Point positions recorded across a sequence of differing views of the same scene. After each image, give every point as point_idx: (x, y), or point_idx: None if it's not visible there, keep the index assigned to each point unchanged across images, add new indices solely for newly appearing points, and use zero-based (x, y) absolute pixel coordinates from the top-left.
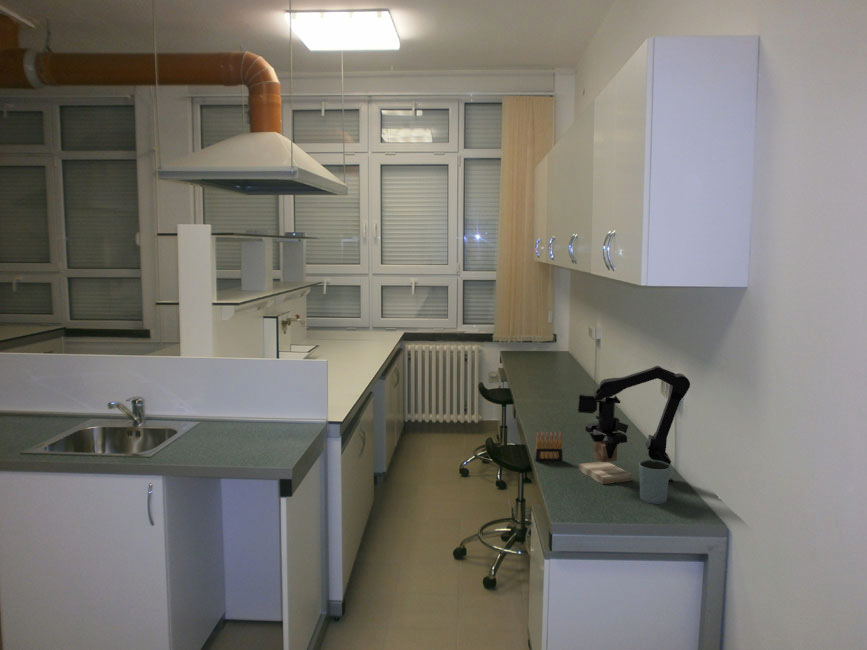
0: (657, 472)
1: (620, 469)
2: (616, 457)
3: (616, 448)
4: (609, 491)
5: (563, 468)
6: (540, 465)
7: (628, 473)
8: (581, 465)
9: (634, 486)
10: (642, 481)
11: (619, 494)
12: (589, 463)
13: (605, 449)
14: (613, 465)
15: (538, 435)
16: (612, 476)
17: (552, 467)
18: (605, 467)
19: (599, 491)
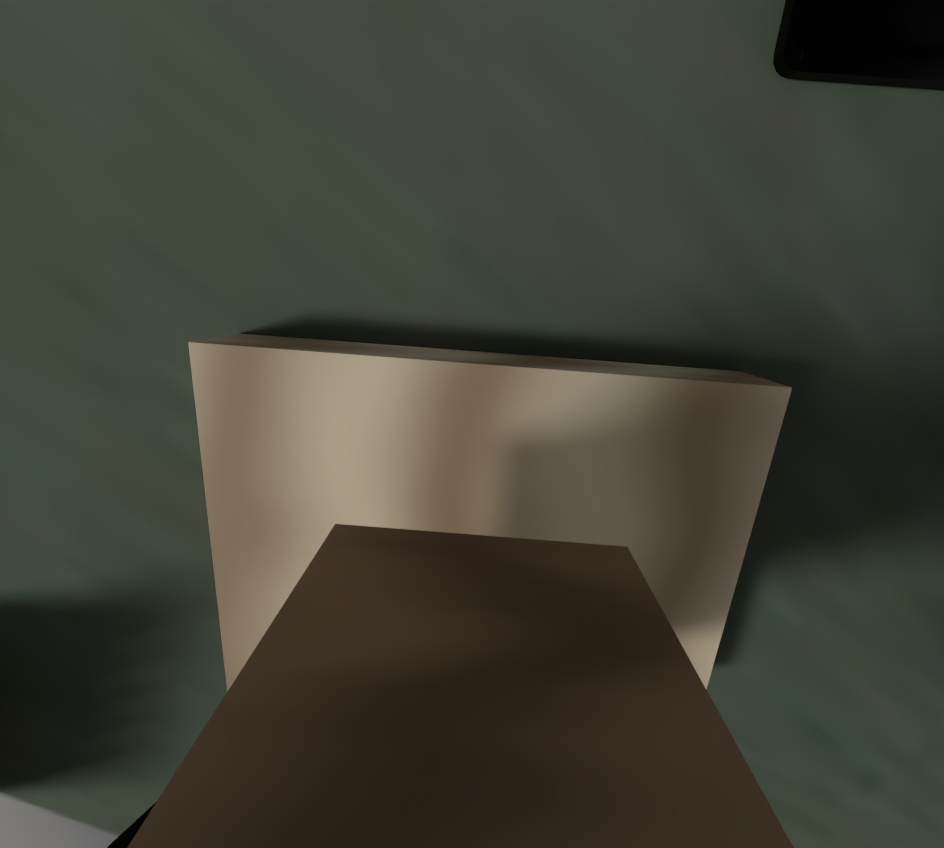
0: None
1: (578, 399)
2: (647, 592)
3: (755, 811)
4: (830, 718)
5: (181, 713)
6: (73, 811)
7: (759, 411)
8: None
9: (885, 455)
10: None
11: (933, 695)
12: (243, 595)
13: None
14: (400, 377)
15: None
16: (720, 630)
17: (138, 767)
18: (436, 522)
19: (782, 775)
